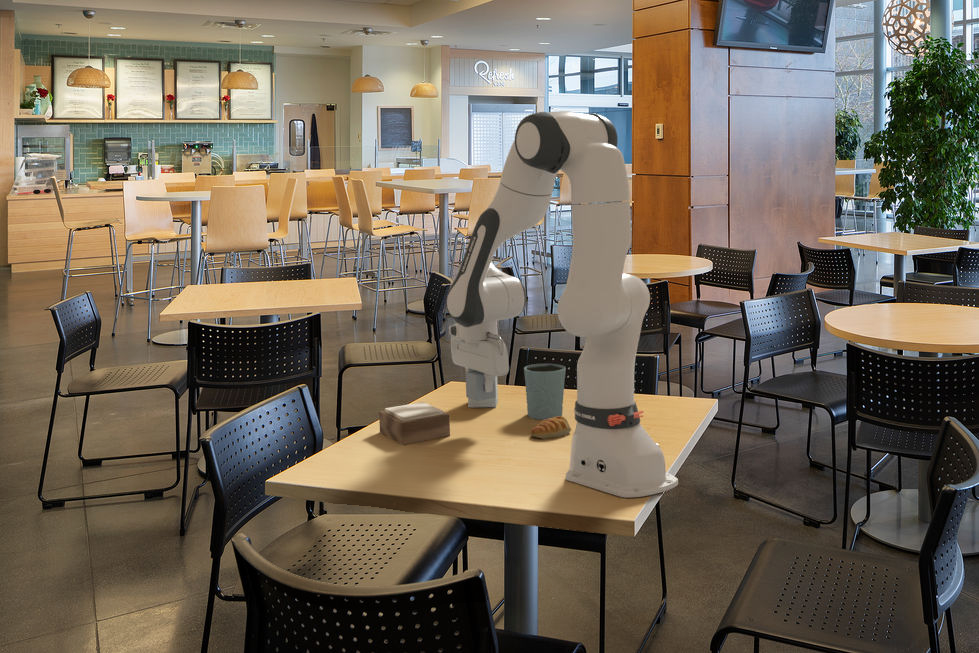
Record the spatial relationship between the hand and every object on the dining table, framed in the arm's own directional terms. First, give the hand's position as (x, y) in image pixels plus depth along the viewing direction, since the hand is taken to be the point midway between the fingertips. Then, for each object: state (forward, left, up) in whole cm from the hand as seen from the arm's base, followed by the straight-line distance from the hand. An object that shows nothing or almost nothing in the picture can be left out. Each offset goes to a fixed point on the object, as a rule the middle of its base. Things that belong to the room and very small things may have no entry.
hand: (480, 389), depth 206 cm
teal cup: (+2, -20, -10) cm, 22 cm away
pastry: (-12, -11, -10) cm, 19 cm away
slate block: (0, 0, -2) cm, 2 cm away
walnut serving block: (+6, +14, -10) cm, 18 cm away
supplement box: (+20, -13, -10) cm, 26 cm away
